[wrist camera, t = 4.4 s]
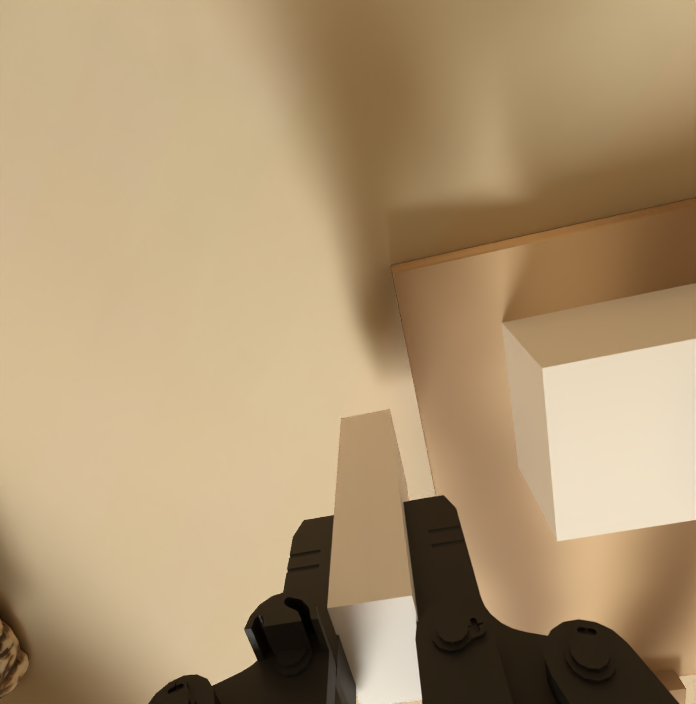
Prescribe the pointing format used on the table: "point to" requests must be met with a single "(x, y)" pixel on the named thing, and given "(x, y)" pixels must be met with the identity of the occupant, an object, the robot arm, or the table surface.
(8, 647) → the figurine
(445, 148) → the table surface
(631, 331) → the block
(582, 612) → the plywood panel
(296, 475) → the table surface
